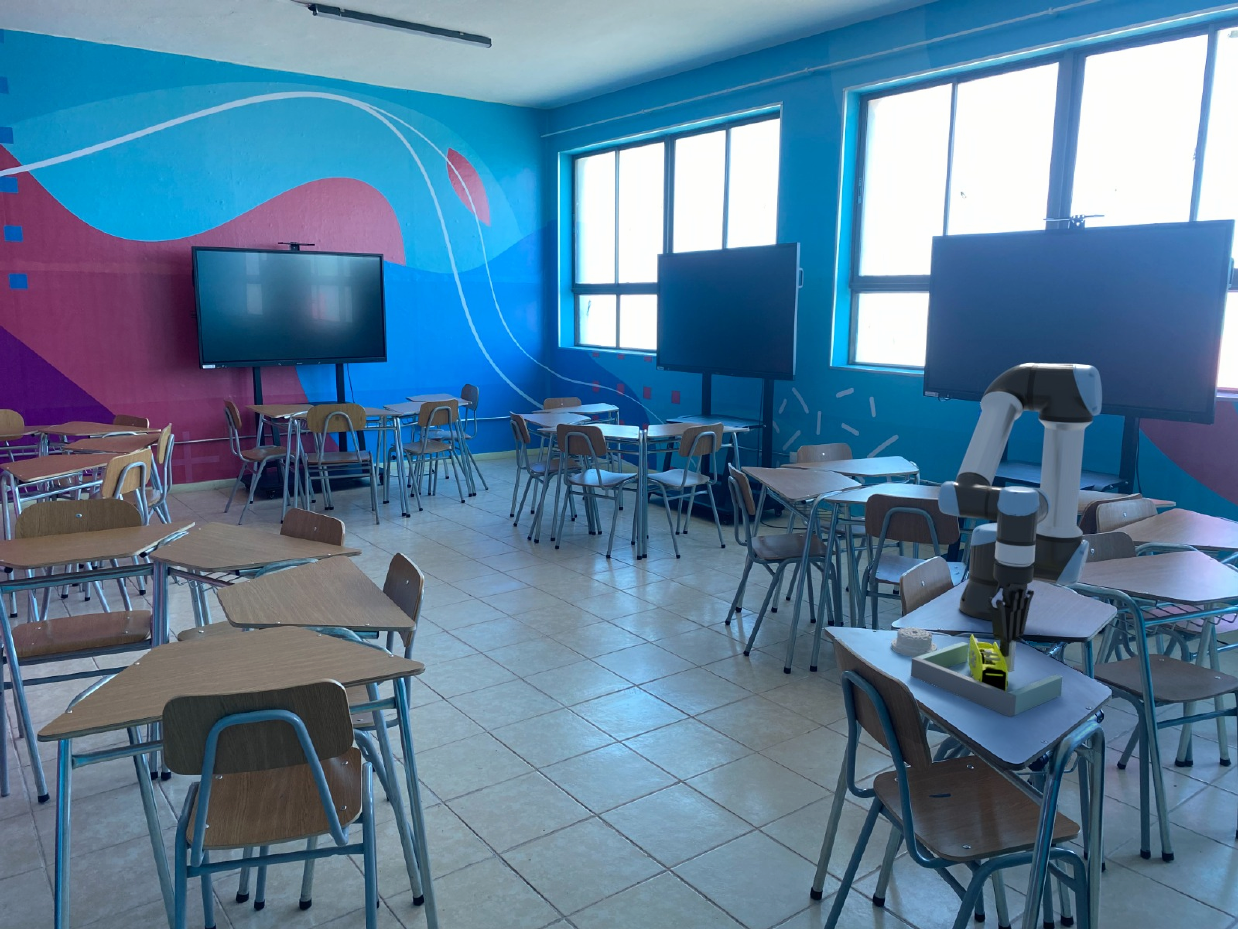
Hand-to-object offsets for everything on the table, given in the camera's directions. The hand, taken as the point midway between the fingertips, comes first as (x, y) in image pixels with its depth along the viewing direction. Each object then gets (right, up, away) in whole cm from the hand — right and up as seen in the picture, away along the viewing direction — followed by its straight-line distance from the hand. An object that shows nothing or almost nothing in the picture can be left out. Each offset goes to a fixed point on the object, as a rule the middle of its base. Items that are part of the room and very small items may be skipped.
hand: (1006, 669), depth 184 cm
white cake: (-14, 0, +16) cm, 22 cm away
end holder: (-6, -2, -3) cm, 7 cm away
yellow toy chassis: (-5, -3, -2) cm, 6 cm away
